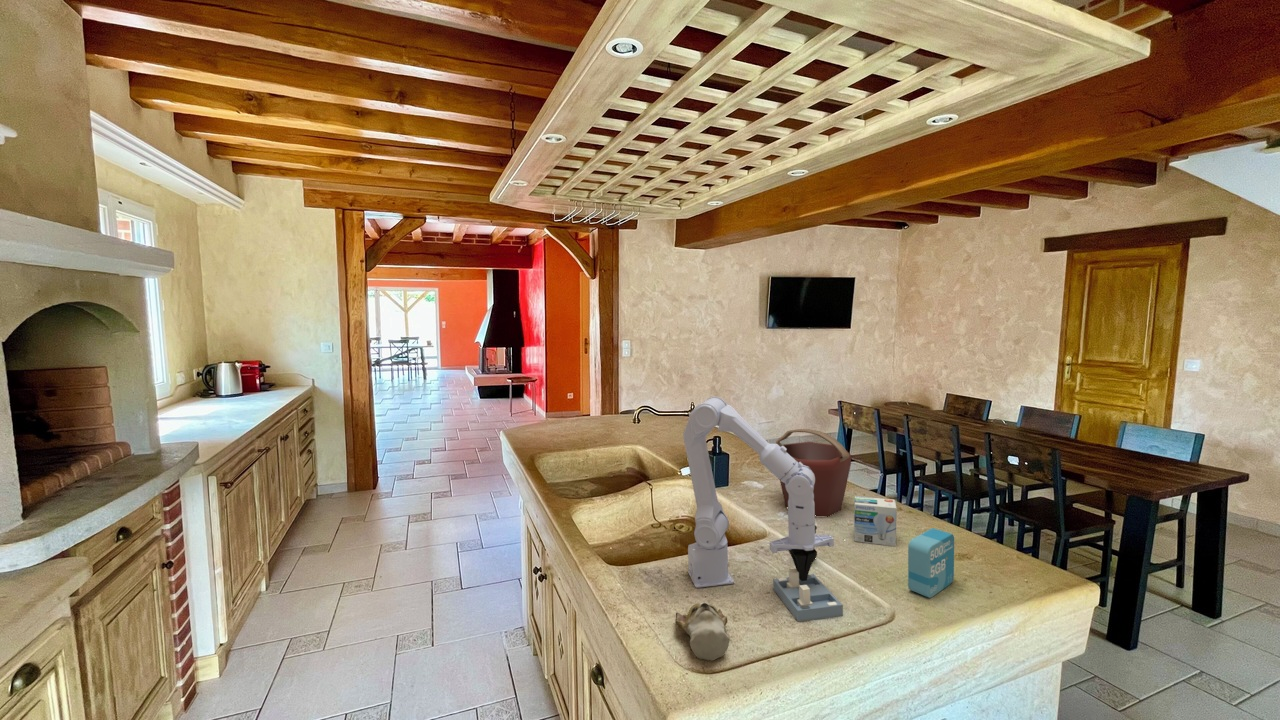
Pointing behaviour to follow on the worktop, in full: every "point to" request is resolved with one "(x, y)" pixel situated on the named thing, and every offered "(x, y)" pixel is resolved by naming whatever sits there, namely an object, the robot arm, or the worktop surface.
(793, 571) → the tab far
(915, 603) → the worktop surface
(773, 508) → the worktop surface
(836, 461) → the bucket
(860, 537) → the light bulb box
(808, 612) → the dip bank
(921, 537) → the data package
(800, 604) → the tab near
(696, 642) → the ceramic sculpture
